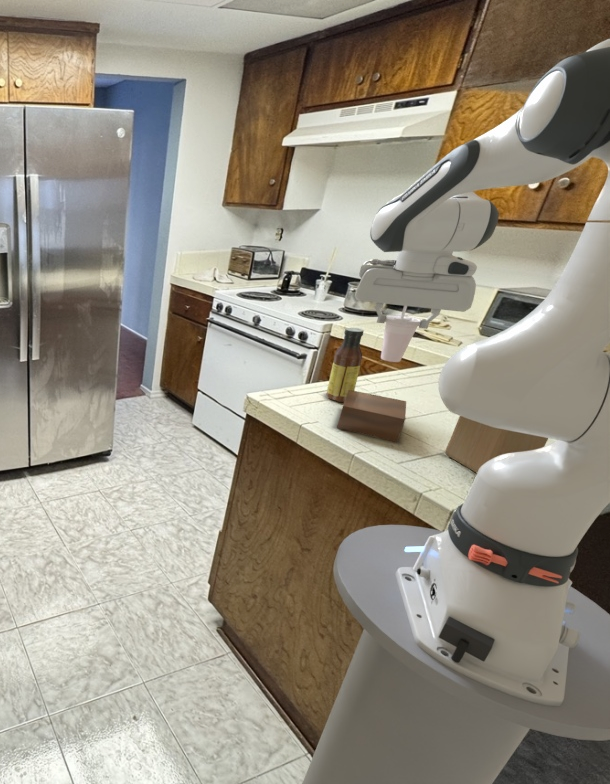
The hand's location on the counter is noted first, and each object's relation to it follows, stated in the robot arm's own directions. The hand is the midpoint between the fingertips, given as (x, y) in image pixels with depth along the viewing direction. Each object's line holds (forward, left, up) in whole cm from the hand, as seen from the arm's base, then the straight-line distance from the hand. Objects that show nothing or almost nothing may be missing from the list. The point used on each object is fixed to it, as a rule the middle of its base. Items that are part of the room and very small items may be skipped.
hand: (401, 325), depth 105 cm
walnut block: (0, 0, -26) cm, 26 cm away
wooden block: (-7, -21, -26) cm, 34 cm away
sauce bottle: (+14, +8, -26) cm, 31 cm away
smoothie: (0, 0, -8) cm, 8 cm away
